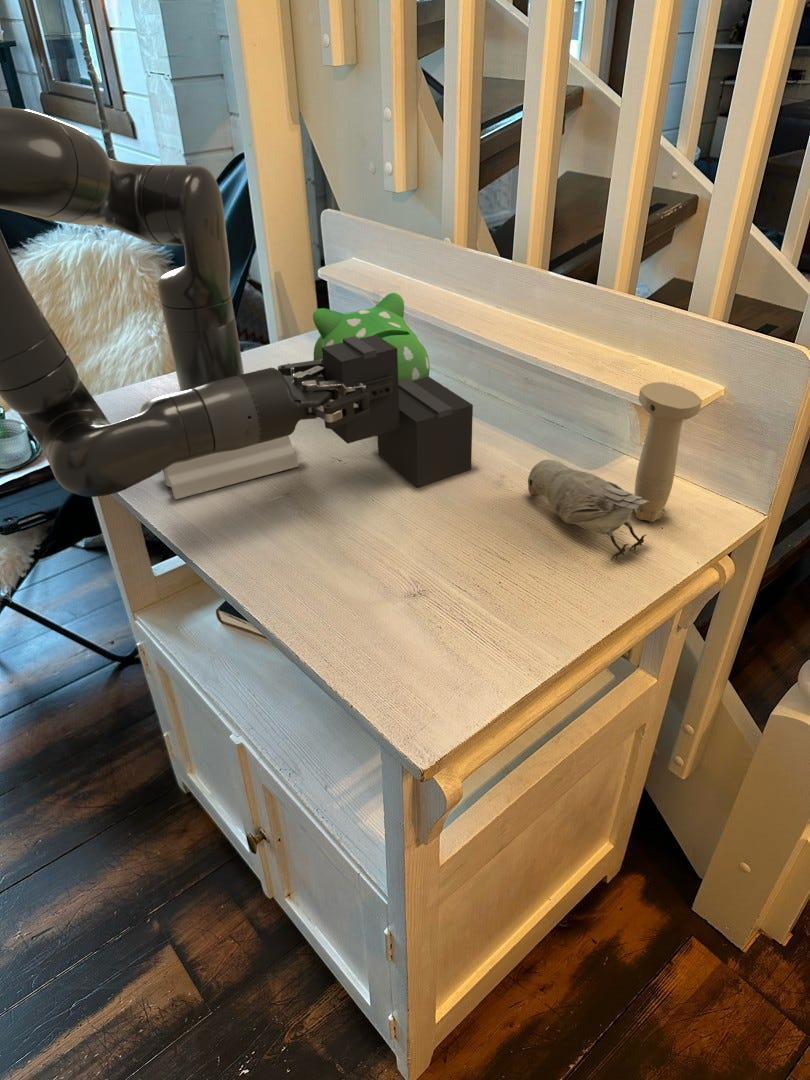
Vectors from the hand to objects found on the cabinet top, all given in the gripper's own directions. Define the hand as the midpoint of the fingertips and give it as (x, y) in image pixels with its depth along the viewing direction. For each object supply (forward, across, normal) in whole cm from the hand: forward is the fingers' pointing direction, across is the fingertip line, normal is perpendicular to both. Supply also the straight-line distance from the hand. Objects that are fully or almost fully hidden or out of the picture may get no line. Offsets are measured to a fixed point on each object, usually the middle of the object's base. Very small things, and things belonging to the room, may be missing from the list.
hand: (380, 375), depth 88 cm
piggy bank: (+8, +17, +13) cm, 23 cm away
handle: (+21, -24, +14) cm, 35 cm away
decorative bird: (+13, -22, +14) cm, 29 cm away
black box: (-3, 0, +6) cm, 7 cm away
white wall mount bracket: (-16, +12, +14) cm, 24 cm away
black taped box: (+6, 0, +13) cm, 15 cm away
